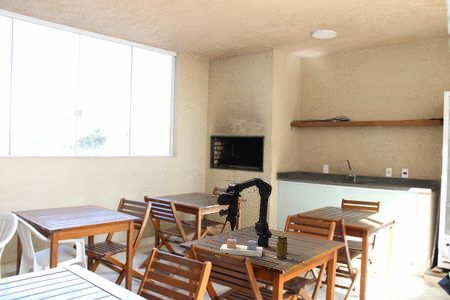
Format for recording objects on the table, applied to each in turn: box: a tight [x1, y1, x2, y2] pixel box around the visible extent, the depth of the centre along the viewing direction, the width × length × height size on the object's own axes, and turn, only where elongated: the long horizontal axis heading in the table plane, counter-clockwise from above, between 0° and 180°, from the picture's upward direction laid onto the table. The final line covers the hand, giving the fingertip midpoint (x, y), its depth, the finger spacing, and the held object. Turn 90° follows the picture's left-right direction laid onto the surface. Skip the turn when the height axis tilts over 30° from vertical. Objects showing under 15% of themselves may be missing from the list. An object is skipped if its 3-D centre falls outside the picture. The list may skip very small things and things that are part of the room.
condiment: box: [272, 235, 293, 261], centre depth 221 cm, size 7×8×12 cm
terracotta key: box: [226, 238, 238, 248], centre depth 230 cm, size 5×5×4 cm
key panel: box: [219, 243, 264, 257], centre depth 229 cm, size 24×12×2 cm, turn 81°
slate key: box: [246, 239, 258, 250], centre depth 228 cm, size 5×5×4 cm
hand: (232, 231), depth 230 cm, fingers closed
